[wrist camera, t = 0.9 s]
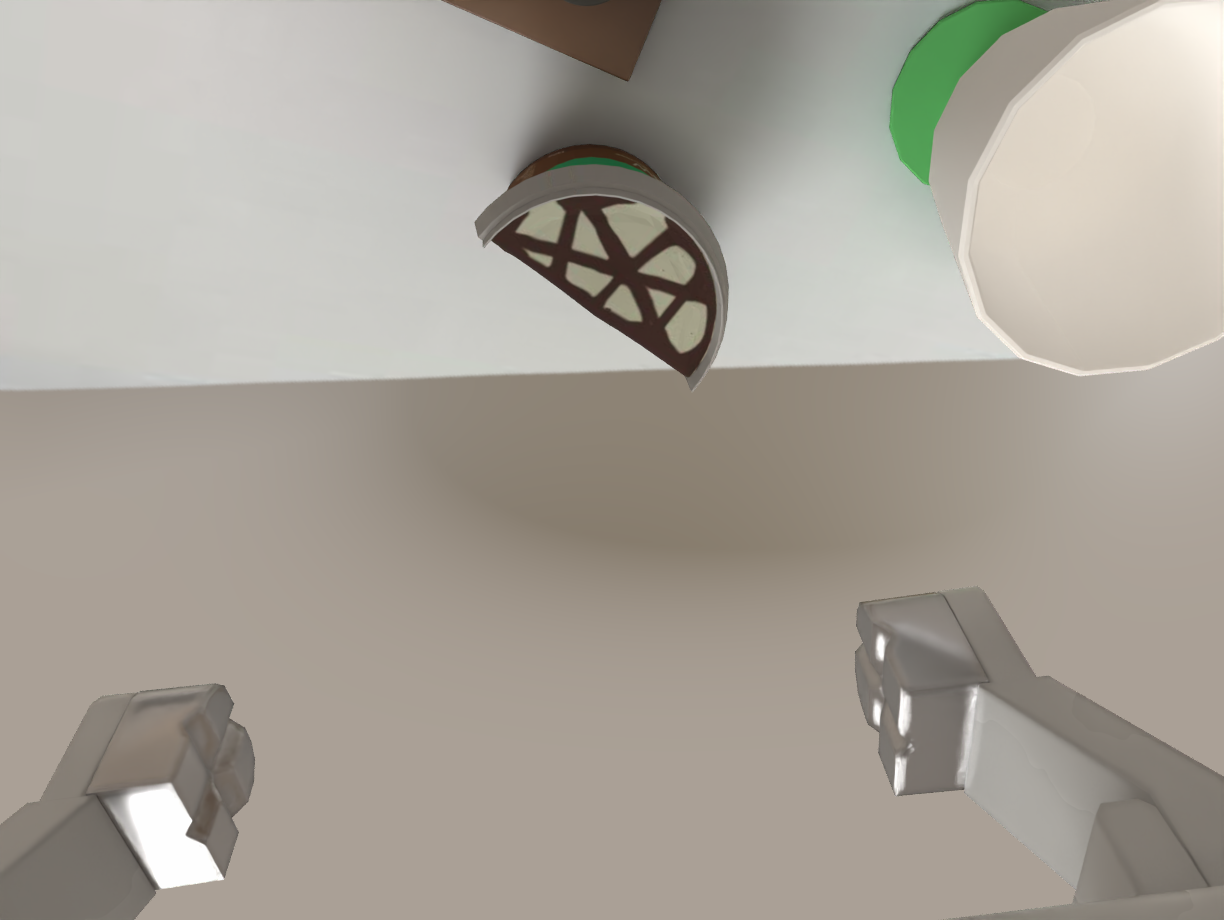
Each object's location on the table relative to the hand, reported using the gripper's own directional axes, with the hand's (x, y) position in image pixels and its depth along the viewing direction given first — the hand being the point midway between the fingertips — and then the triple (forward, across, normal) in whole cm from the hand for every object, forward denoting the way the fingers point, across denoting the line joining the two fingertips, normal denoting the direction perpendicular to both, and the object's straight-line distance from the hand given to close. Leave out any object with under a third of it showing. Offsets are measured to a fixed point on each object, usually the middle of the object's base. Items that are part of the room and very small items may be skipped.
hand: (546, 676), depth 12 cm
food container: (+39, -3, +6) cm, 39 cm away
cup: (+39, -21, +4) cm, 44 cm away
